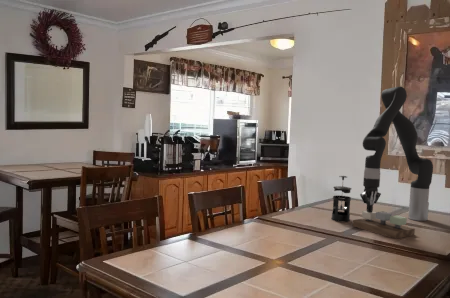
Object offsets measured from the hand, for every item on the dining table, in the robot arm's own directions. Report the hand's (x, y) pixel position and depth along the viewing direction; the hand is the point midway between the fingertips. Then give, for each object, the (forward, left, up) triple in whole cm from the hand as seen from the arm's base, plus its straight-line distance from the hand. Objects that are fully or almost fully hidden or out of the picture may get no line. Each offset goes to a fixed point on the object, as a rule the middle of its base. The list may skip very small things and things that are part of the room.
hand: (369, 212), depth 207 cm
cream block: (0, 0, -6) cm, 6 cm away
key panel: (0, +8, -7) cm, 11 cm away
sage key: (0, +16, -5) cm, 17 cm away
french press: (+2, -16, -7) cm, 18 cm away
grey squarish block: (0, +8, -4) cm, 9 cm away
